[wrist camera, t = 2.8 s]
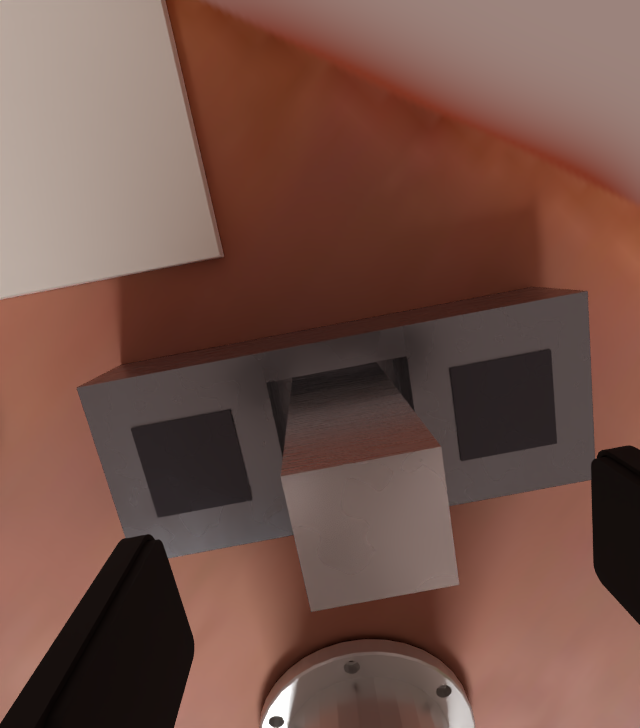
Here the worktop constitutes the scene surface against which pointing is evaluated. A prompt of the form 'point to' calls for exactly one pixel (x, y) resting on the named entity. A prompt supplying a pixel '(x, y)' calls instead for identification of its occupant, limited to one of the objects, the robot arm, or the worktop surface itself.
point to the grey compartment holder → (335, 351)
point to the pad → (96, 146)
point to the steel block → (364, 490)
